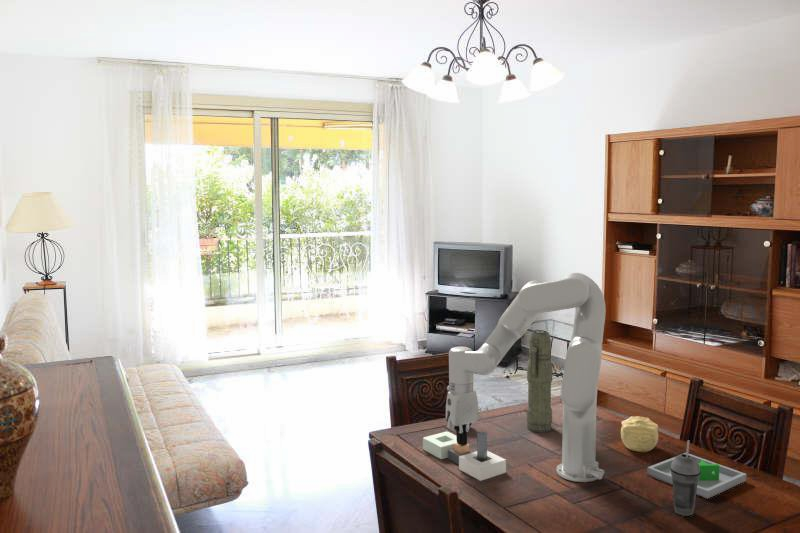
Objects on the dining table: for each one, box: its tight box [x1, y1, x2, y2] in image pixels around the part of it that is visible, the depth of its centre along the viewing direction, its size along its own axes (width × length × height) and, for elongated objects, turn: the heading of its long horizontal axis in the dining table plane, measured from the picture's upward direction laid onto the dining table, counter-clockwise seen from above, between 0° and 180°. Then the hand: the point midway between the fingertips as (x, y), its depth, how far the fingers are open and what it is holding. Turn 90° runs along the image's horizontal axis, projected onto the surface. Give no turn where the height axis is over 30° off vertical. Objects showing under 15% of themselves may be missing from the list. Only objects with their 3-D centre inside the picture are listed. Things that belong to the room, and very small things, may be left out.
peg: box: [476, 430, 488, 462], centre depth 199 cm, size 3×3×12 cm
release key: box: [454, 443, 470, 454], centre depth 207 cm, size 3×3×5 cm
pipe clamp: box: [698, 460, 721, 480], centre depth 191 cm, size 11×4×5 cm, turn 89°
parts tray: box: [646, 452, 747, 499], centre depth 191 cm, size 19×19×2 cm
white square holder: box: [422, 430, 457, 460], centre depth 215 cm, size 10×10×4 cm
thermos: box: [526, 329, 554, 433], centre depth 232 cm, size 9×12×35 cm
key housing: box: [447, 448, 476, 466], centre depth 207 cm, size 6×6×3 cm
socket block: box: [458, 450, 507, 482], centre depth 199 cm, size 10×10×4 cm
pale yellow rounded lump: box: [620, 415, 659, 453], centre depth 214 cm, size 12×12×11 cm
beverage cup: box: [670, 439, 701, 516], centre depth 171 cm, size 7×7×20 cm
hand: (461, 443), depth 207 cm, fingers closed
